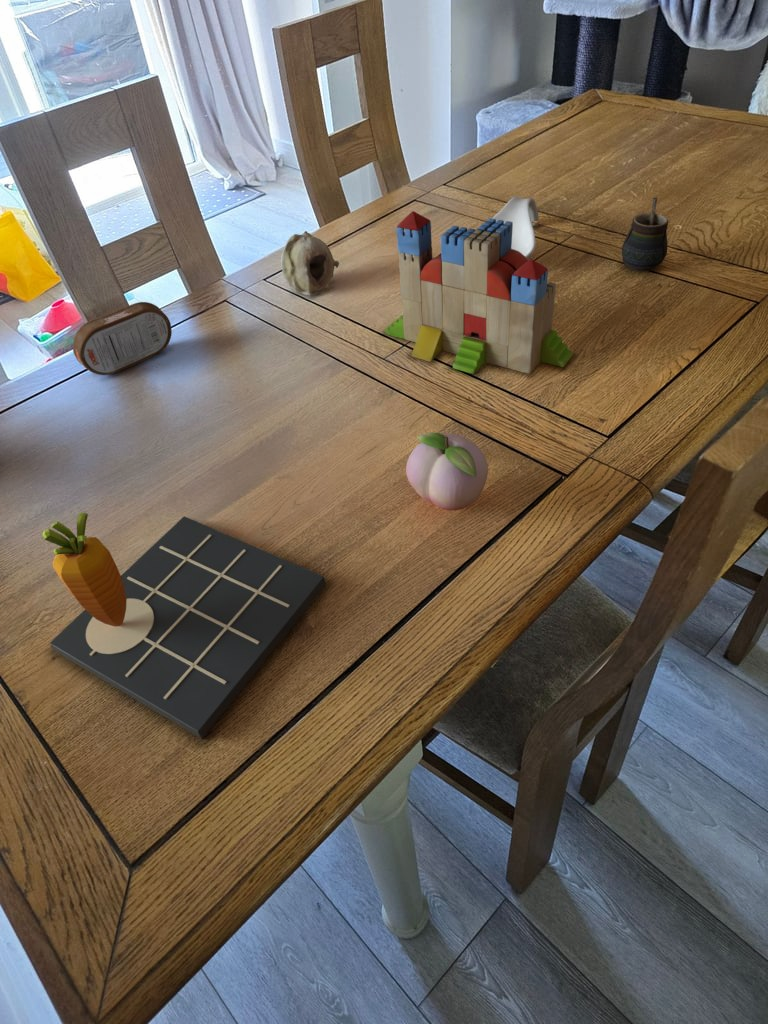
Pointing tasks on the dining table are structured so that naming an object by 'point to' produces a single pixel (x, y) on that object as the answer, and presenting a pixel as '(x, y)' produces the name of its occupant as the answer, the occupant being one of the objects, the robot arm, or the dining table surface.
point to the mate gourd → (646, 241)
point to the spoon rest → (521, 223)
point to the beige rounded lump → (307, 264)
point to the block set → (475, 298)
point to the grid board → (193, 623)
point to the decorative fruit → (447, 470)
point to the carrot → (89, 572)
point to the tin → (122, 338)
